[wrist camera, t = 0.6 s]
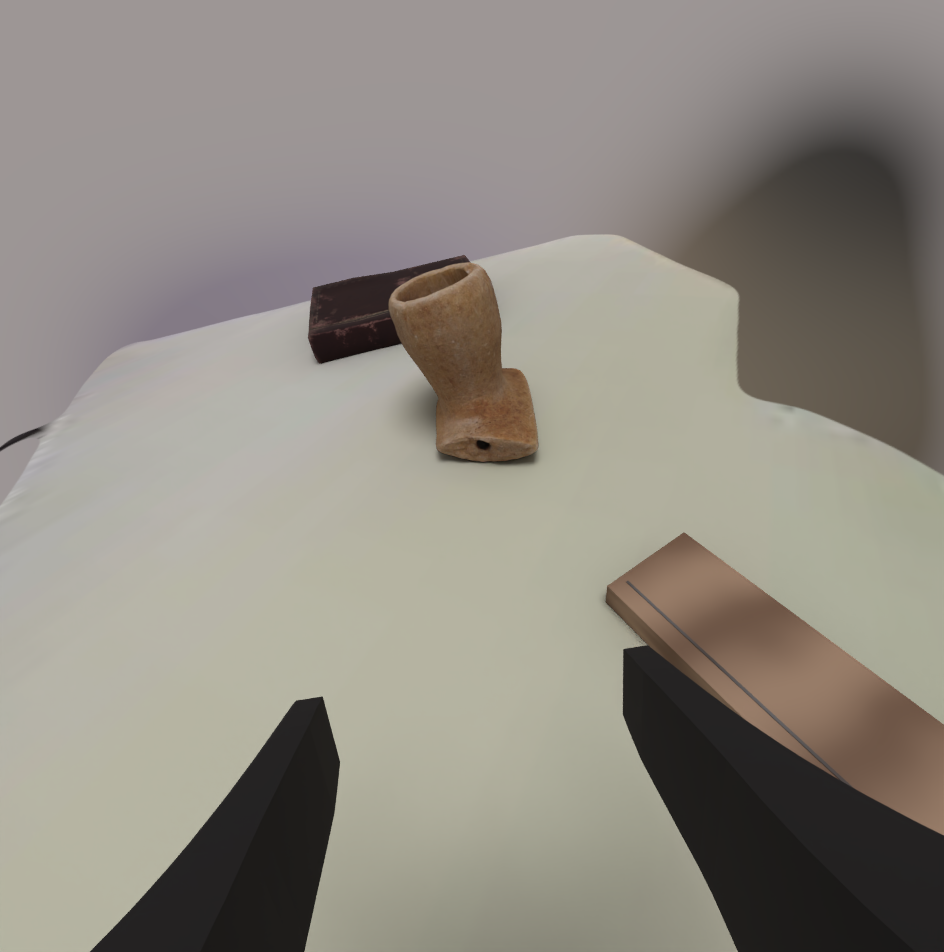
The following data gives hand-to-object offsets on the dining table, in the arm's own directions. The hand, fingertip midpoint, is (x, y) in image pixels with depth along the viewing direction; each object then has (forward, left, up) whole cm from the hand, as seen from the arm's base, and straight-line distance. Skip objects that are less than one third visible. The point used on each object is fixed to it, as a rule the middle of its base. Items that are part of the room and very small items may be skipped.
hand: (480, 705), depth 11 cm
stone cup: (+30, -16, -17) cm, 38 cm away
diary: (+61, -21, -18) cm, 67 cm away
